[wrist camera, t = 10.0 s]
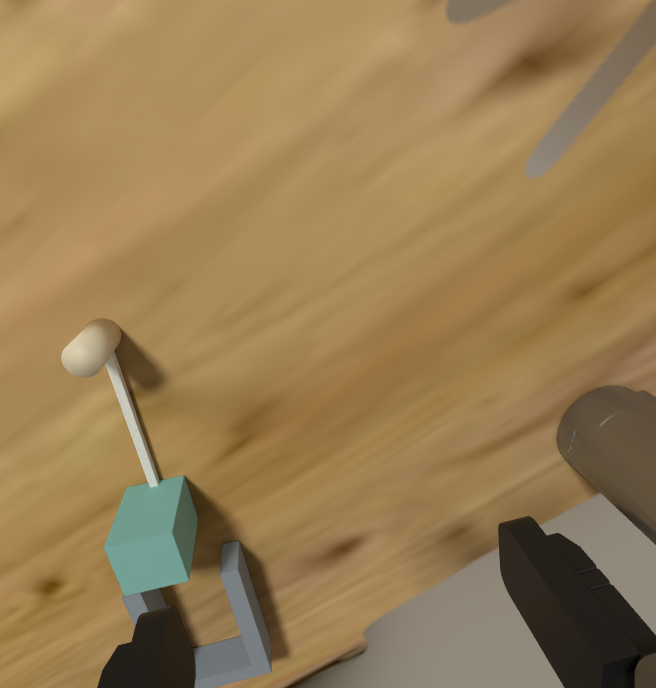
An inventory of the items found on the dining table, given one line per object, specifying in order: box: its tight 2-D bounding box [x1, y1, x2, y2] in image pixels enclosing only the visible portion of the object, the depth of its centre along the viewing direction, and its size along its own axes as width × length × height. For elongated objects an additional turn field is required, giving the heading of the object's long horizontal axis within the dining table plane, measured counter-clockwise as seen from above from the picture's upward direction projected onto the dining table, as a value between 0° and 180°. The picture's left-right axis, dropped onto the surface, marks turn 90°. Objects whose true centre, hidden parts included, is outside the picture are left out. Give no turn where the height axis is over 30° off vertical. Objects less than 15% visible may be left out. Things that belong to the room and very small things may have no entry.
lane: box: [122, 541, 272, 688], centre depth 46 cm, size 10×14×4 cm
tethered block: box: [62, 319, 198, 596], centre depth 37 cm, size 5×20×7 cm, turn 9°
